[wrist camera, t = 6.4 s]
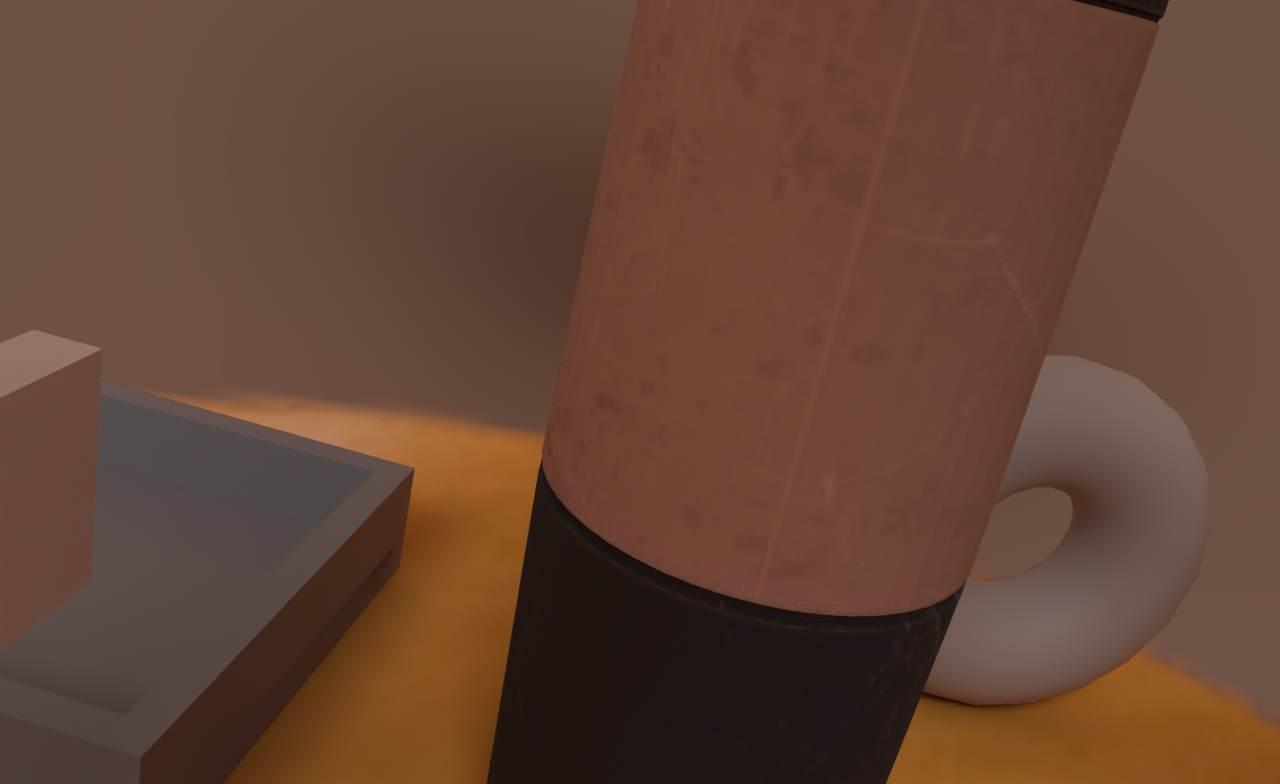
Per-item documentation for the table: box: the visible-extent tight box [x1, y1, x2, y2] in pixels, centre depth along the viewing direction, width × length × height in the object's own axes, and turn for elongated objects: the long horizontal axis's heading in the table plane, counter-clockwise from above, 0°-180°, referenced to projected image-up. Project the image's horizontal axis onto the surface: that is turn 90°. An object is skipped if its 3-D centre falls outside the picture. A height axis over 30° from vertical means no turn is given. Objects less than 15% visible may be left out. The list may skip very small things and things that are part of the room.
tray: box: [0, 380, 415, 784], centre depth 27 cm, size 13×13×3 cm
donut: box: [923, 355, 1211, 705], centre depth 31 cm, size 10×3×10 cm, turn 97°
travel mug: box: [487, 0, 1169, 784], centre depth 20 cm, size 8×8×20 cm
